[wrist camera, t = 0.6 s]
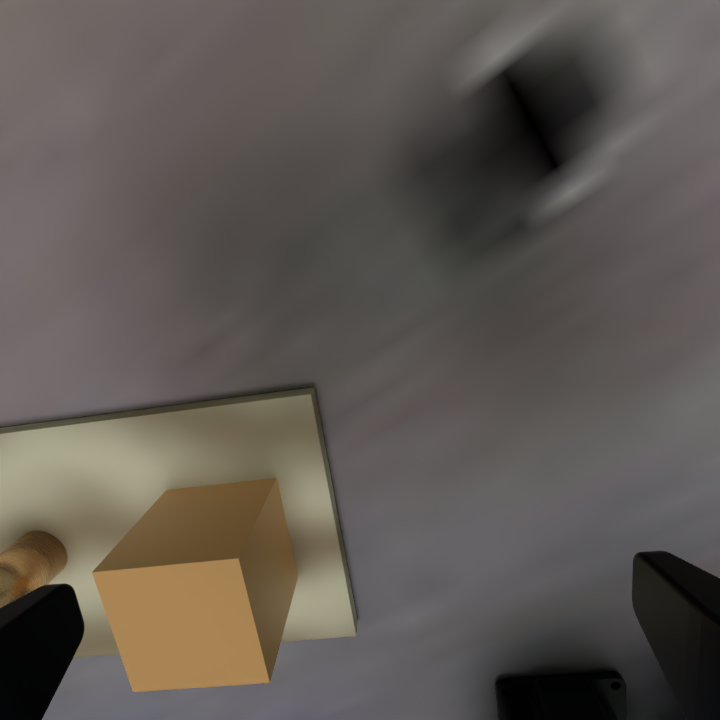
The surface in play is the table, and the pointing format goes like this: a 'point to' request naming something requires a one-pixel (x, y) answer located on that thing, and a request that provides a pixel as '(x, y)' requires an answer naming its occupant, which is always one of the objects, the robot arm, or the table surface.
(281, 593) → the tan wooden cube
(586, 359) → the table surface
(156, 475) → the birch board
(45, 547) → the copper post
